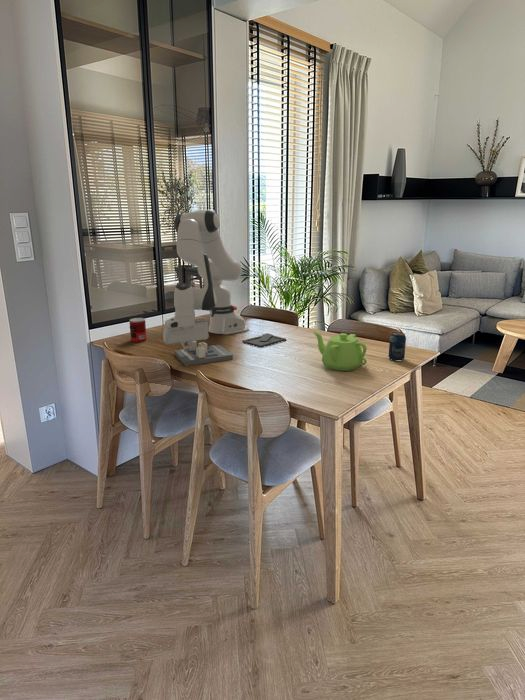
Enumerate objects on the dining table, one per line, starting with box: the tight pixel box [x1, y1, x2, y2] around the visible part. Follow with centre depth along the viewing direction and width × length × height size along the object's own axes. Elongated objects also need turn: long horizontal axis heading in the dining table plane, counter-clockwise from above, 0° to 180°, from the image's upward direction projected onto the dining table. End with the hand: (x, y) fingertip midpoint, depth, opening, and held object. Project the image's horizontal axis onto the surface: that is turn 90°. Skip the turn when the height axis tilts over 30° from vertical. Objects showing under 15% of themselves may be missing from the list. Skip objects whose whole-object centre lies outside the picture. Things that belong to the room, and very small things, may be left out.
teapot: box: [312, 331, 368, 372], centre depth 208 cm, size 19×20×14 cm
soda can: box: [388, 331, 407, 361], centre depth 217 cm, size 7×7×12 cm
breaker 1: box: [187, 341, 198, 351], centre depth 226 cm, size 3×4×4 cm
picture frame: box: [241, 333, 287, 348], centre depth 247 cm, size 13×2×18 cm
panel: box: [173, 344, 234, 367], centre depth 223 cm, size 22×18×2 cm
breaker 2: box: [196, 346, 205, 358], centre depth 216 cm, size 3×4×4 cm
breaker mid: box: [197, 341, 208, 353], centre depth 222 cm, size 3×4×4 cm
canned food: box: [129, 317, 147, 343], centre depth 249 cm, size 8×8×11 cm
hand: (186, 350), depth 219 cm, fingers closed
